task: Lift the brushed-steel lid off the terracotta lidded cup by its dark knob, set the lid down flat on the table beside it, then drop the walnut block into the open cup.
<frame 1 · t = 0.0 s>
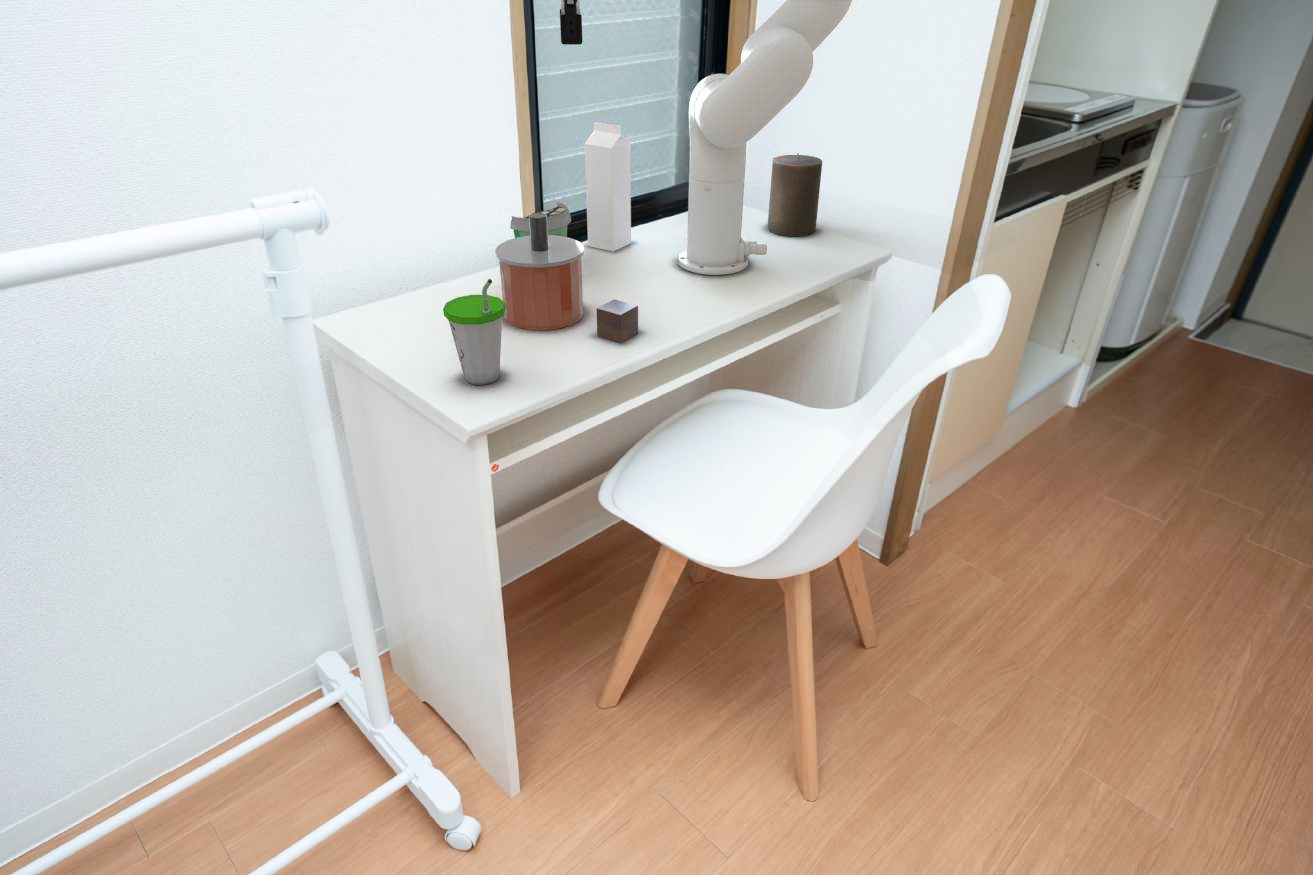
hand: (571, 40, 132), 37 cm above the table, tool pointing down, fingers open, 9 cm apart
food container: (551, 269, 150), on the table
canister: (544, 314, 132), on the table
cup: (482, 378, 114), on the table
pillar candle: (791, 230, 171), on the table
block: (617, 334, 126), on the table
lid: (540, 252, 127), point 10 cm above the table, touching canister
milk: (609, 245, 161), on the table
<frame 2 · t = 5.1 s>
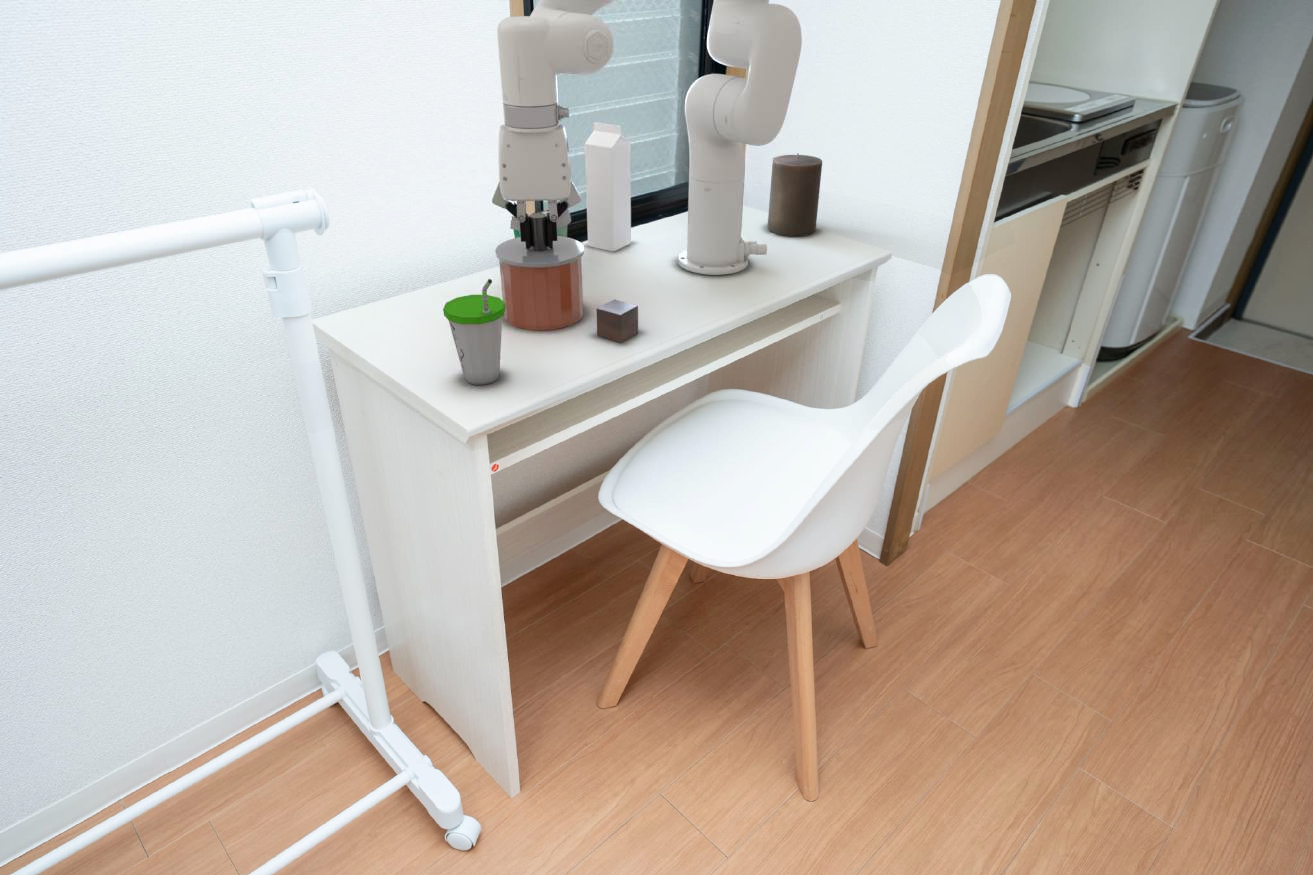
hand: (539, 244, 126), 11 cm above the table, tool pointing down, fingers closed on lid, 2 cm apart
lid: (540, 252, 127), point 10 cm above the table, touching canister, gripper
everything else where it was.
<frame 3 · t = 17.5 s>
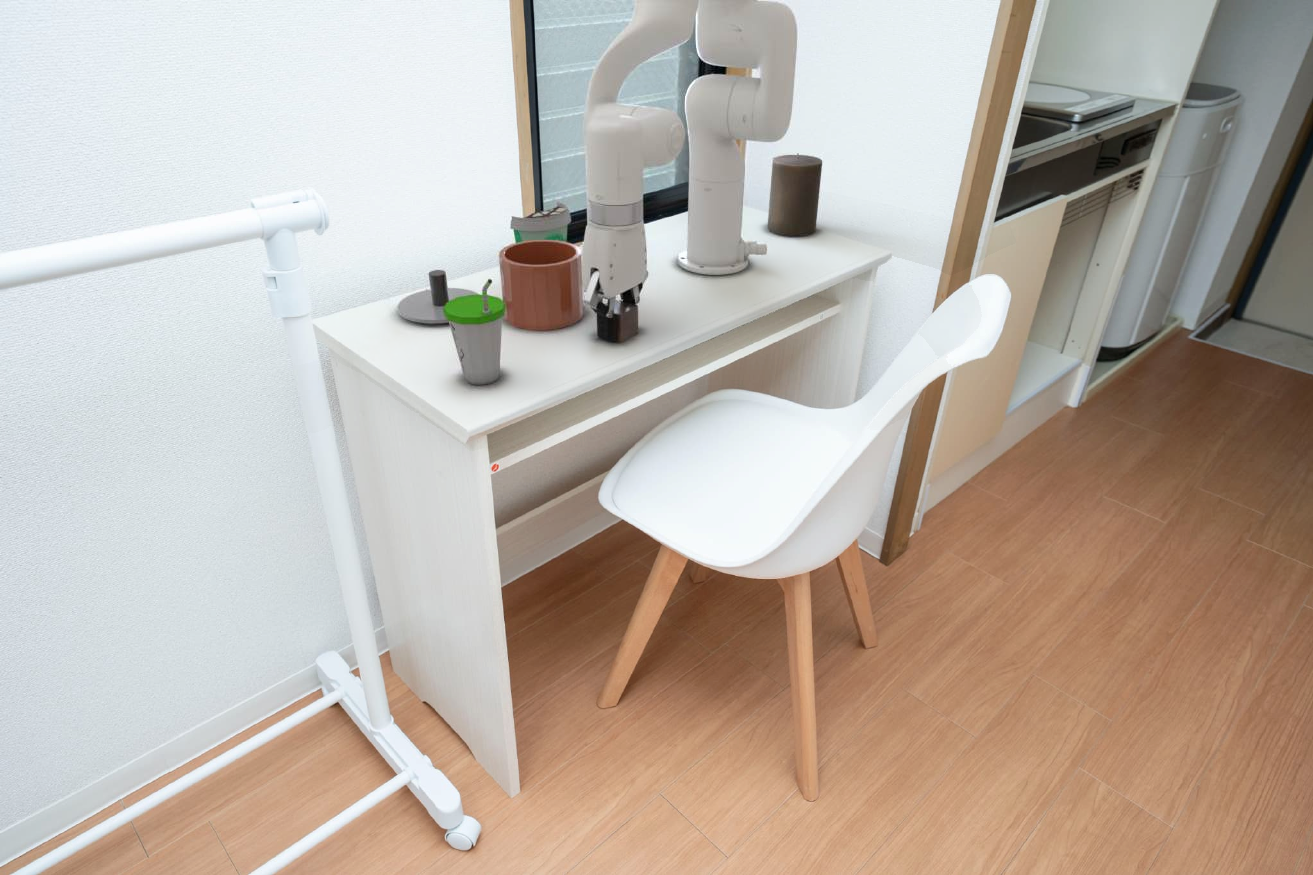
hand: (617, 332, 126), 0 cm above the table, tool pointing down, fingers closed on block, 4 cm apart
block: (617, 334, 126), on the table, touching gripper
lid: (441, 306, 133), point 1 cm above the table
everything else where it was.
when the fingers open (10 cm above the table, at t = 23.6 s): block drops 9 cm, resting on canister.
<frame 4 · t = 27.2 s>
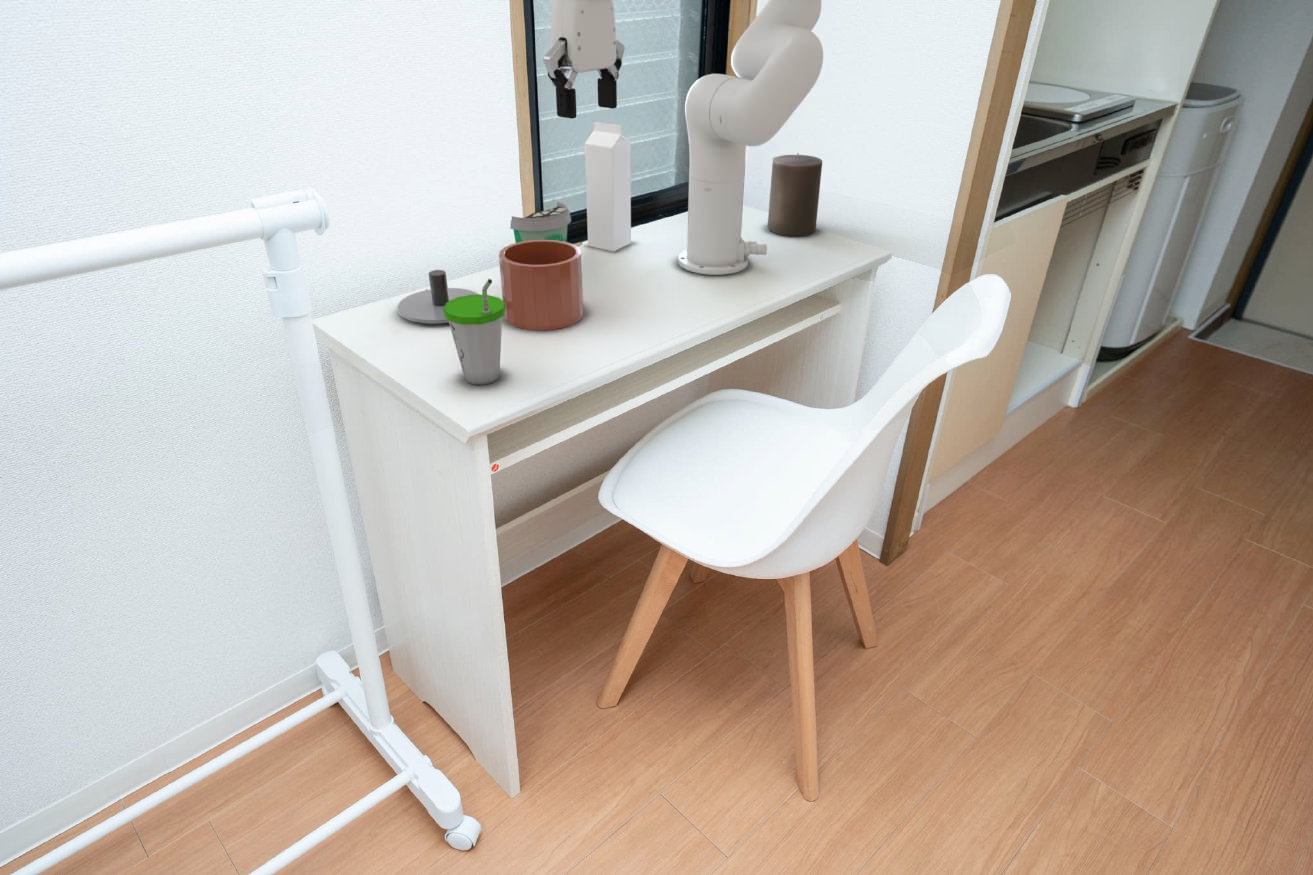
hand: (587, 112, 126), 28 cm above the table, tool pointing down, fingers open, 9 cm apart
block: (543, 311, 132), point 1 cm above the table, touching canister
everything else where it was.
at the end: lid inside the target area on the table beside the canister (0.1 cm from its centre), point 0.6 cm above the table; lid tilted 0°; block inside the target area in the canister (0.1 cm from its centre), point 0.5 cm above the canister's base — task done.
